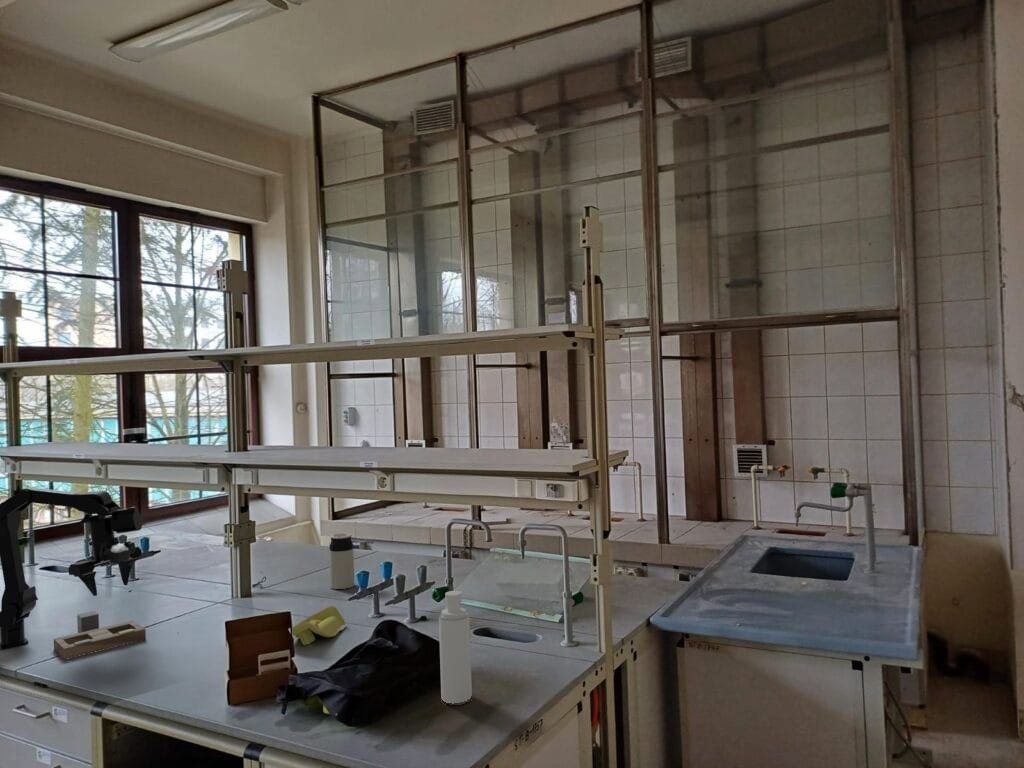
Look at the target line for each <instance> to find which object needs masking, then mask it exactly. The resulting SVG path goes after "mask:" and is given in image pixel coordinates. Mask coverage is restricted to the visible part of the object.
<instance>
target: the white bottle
mask: <svg viewBox="0 0 1024 768" xmlns="http://www.w3.org/2000/svg"><path fill="white" fill-rule="evenodd" d="M462 595H463V594H462V591H461V590H449V591H447V592H445V603H446V608H444V609H442V610H441V612H440V613H439V614H438V627H439V628H438V630H439V631H438V632H439V633H438V635H439V660H440V661H439V662H440V663H439V664H440V665H439V667H440V694H441V697H440V698H441V699H442V700H443V701H444V702H446V703H452V704H454V703H460V702H464V701H467V700H468V699H470V698H471V696H472V697H473V691H472V658H471V657H472V656H471V655H472V654H471V630H470V629H471V628H470V625H471V623H470V612H469V611H467V609H466V608H464V607H462V604H461V603H462V602H463V601H462V600H463V599H462V598H463V596H462ZM442 700H441V701H442Z"/></svg>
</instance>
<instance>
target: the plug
mask: <svg viewBox="0 0 1024 768" xmlns="http://www.w3.org/2000/svg"><path fill="white" fill-rule="evenodd" d="M76 617H77V620H76V622H77V633H81V632H85V631H90V630H94V629H98V628H100V622H99V621H100V618H99V617H100V615H99V613H98V612H96V610H92V611H87V612H82V613H78V614H77V616H76Z"/></svg>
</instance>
